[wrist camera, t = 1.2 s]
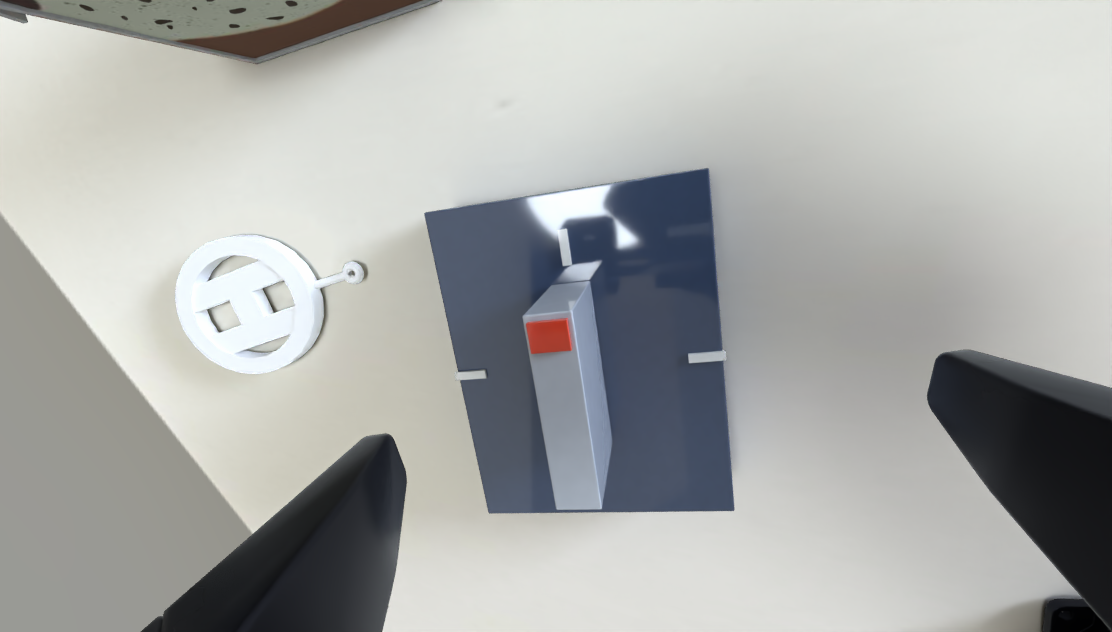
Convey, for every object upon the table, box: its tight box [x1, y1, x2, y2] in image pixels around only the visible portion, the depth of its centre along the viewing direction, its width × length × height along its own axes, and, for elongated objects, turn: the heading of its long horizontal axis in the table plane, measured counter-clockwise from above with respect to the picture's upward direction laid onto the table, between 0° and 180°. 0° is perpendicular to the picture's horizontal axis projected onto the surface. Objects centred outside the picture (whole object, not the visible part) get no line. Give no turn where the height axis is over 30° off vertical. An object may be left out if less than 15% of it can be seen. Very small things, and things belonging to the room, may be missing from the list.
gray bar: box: [522, 281, 613, 510], centre depth 18 cm, size 7×2×5 cm, turn 9°
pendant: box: [175, 235, 364, 374], centre depth 25 cm, size 7×11×1 cm, turn 110°
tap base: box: [425, 168, 734, 513], centre depth 22 cm, size 14×11×3 cm
